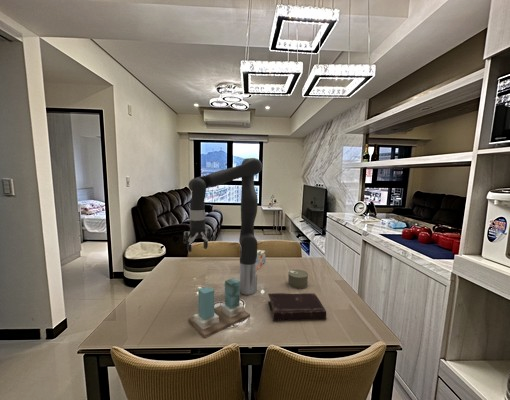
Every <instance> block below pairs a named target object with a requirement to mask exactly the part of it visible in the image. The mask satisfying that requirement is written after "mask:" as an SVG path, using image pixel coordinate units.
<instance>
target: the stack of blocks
mask: <svg viewBox="0 0 510 400" xmlns="http://www.w3.org/2000/svg"><path fill="white" fill-rule="evenodd" d="M264 262H265V263H266V250H264V249H257V259H256V270H257V269H258V268H259V267H260V266H261V265H262V264H263V263H264ZM265 263H264V264H265ZM264 264H263V265H264ZM263 265H262V266H263ZM262 266H261V267H262ZM259 269H260V268H259ZM259 269H258V270H259ZM258 270H257V271H258Z"/></svg>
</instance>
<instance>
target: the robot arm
mask: <svg viewBox="0 0 510 400" xmlns="http://www.w3.org/2000/svg"><path fill="white" fill-rule="evenodd" d="M262 169H263V164H262V162H261V160H260V159H258V158H256V157H250V158H249V157H248V158H245V159H243V161H242V162H241V164H239V165H237V166H233V167H229V168H224V169H221V170H217V171H214V172H211V173H208V174H206V175H202V176H198V177H194V178H192V179H191V180H190V181H189V182H188V189H189V190H190V191H191V198H190V200H189V210H190V211H189V231H186V230H185V231H183V239H182V240H183V242H182V243H183V244H185V245H186V246H187V247H186V248H187V251H188V252H189V253H192V244H193V242H194V241H195V240H198V239H202V240H203V249H205V250H207V248H208V247H209V246H208V242H209V241H211V240H212V229H211V228H209V227H206V212H205V205H206V203H205V200H206V192H207V189H210V188H215V187H218V186H221V185H223V184H226V183H229V182H233V181H235V180H237V179H241V191H240V192H241V193H240V194H241V198H240V221H241V223H240V224H241V225H240V234H239V239H238V240H239V242H238V243H239V246H240V256H239V281H240V293H241V294H242V295H244V296H245V295H247V296H249V295H253V294H255V293H256V291H258V274H257V271H256V259H257V250H258V241H257V238H256V237H255V229H254V228H255V221H256V218H257V214H258V194H257V191H256V187H255V176H256V175H258V174H260V173H261V171H262ZM205 234H206V235H205Z"/></svg>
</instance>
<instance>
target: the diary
mask: <svg viewBox="0 0 510 400" xmlns="http://www.w3.org/2000/svg"><path fill="white" fill-rule="evenodd" d="M267 294H268V298H269V301H267V303H268V306H269V311H270V312H272V314H273V315H272V316H273V317H272V321H274V322H279V321H281V322H282V321H306V320H307V321H308V320H327V310H326V308H325V306H324V305H323V304H322V302H321V301H320V299H319V297H318V296H317V295H316V293H314V292H310V293H309V292H308V293H307V292H306V293H284V292H283V293H281V292H279V293H278V292H277V293H275V292H274V293H267Z"/></svg>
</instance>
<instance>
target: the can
mask: <svg viewBox="0 0 510 400" xmlns="http://www.w3.org/2000/svg"><path fill="white" fill-rule="evenodd" d="M287 274H288V279H287V280H288V281H287V282H288V283H287V284H288V286H289V287H291V288H295V289H305V288H307V287H308V282H309V281H308V277H309V273H308V272H307V271H305V270H301V269H292V270H291V269H290V270H288V272H287Z"/></svg>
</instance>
